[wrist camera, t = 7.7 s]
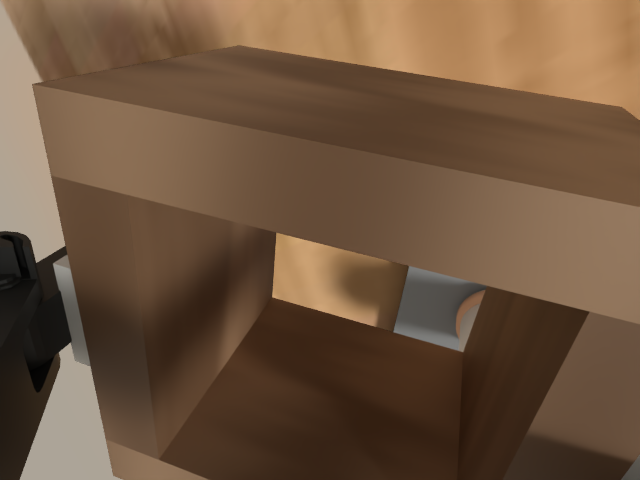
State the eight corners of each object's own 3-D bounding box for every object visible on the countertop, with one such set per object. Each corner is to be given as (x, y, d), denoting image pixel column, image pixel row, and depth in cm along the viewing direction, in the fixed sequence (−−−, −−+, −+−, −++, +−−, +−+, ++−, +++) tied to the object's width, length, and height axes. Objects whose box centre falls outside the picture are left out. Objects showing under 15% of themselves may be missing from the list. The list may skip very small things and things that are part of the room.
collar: (234, 317, 18) (113, 475, 12) (238, 45, 13) (32, 84, 7) (495, 396, 16) (504, 635, 10) (622, 107, 11) (799, 239, 5)
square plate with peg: (389, 346, 40) (366, 441, 31) (424, 204, 32) (406, 278, 24) (557, 394, 37) (581, 513, 28) (636, 250, 30) (699, 352, 21)
